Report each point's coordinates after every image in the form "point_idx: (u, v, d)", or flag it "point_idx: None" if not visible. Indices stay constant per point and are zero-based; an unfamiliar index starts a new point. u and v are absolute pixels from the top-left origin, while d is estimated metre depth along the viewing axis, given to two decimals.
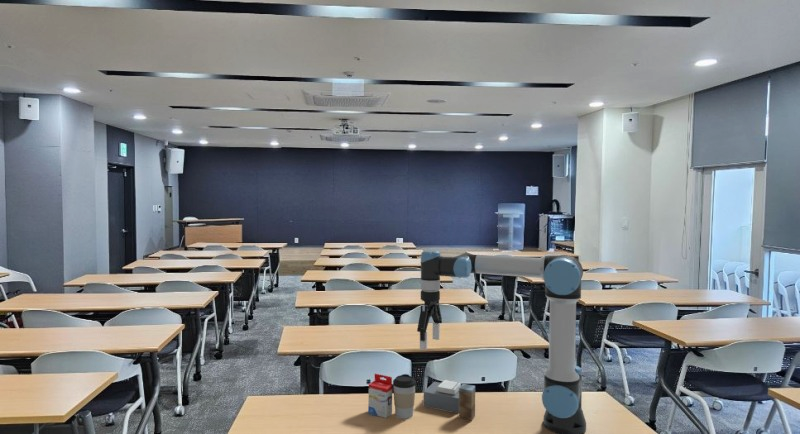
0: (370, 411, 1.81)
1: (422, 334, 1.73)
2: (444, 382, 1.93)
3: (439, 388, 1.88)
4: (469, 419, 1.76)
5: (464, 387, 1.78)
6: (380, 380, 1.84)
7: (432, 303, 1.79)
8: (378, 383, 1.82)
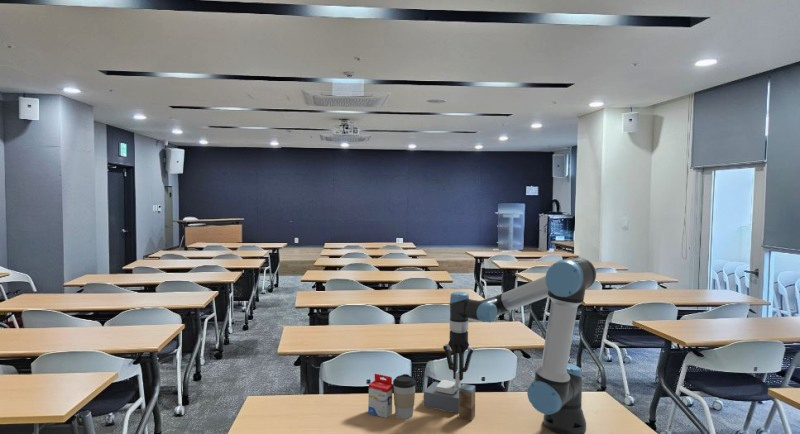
0: (370, 411, 1.81)
1: None
2: (442, 382, 1.93)
3: (438, 388, 1.88)
4: (469, 419, 1.76)
5: (464, 387, 1.78)
6: (380, 380, 1.84)
7: (457, 343, 1.87)
8: (378, 383, 1.82)
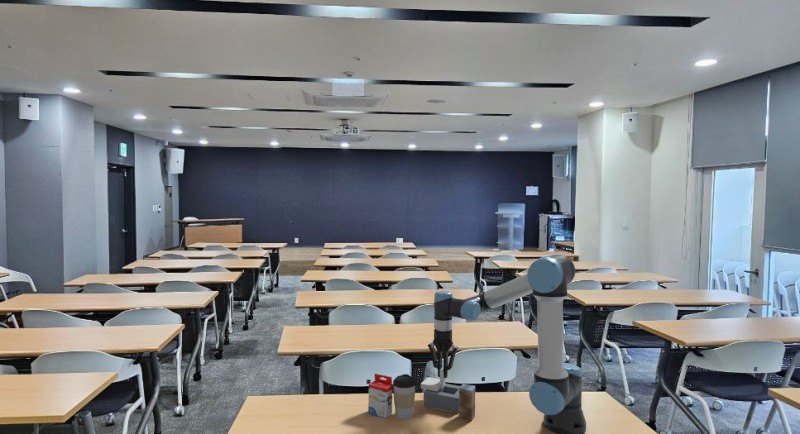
0: (370, 411, 1.81)
1: None
2: (428, 379, 1.96)
3: (422, 385, 1.91)
4: (469, 419, 1.76)
5: (464, 387, 1.78)
6: (380, 380, 1.84)
7: (441, 341, 1.90)
8: (378, 383, 1.82)
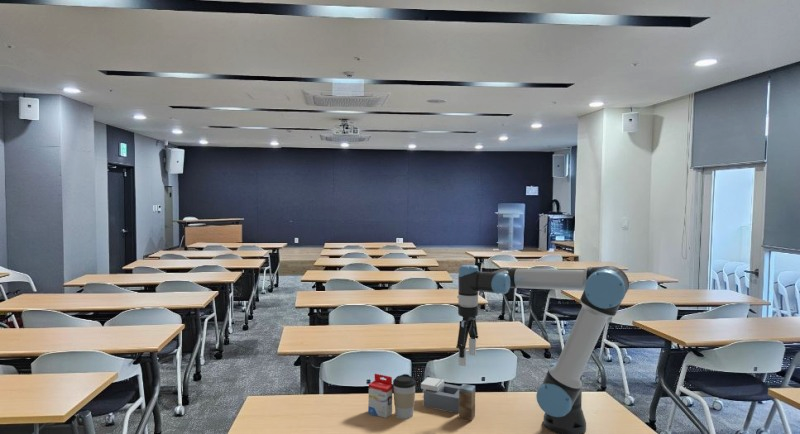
0: (370, 411, 1.81)
1: (461, 350, 1.71)
2: (427, 379, 1.96)
3: (422, 385, 1.91)
4: (469, 419, 1.76)
5: (464, 387, 1.78)
6: (380, 380, 1.84)
7: (470, 318, 1.77)
8: (378, 383, 1.82)
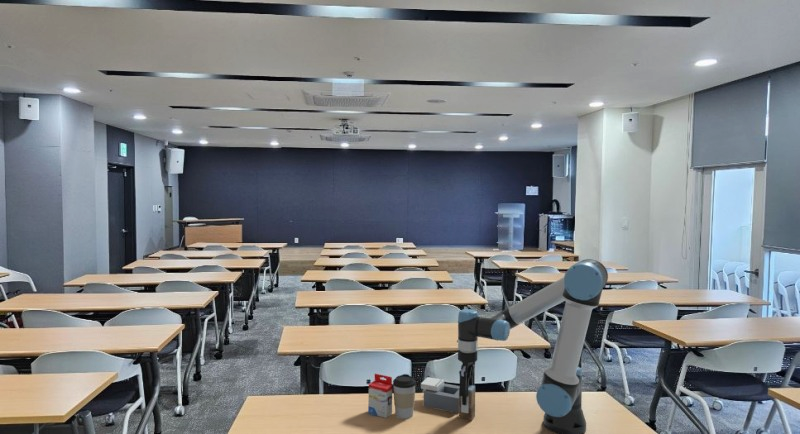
0: (370, 411, 1.81)
1: (464, 398, 1.75)
2: (427, 379, 1.96)
3: (422, 385, 1.91)
4: (469, 419, 1.76)
5: None
6: (380, 380, 1.84)
7: (470, 363, 1.78)
8: (378, 383, 1.82)
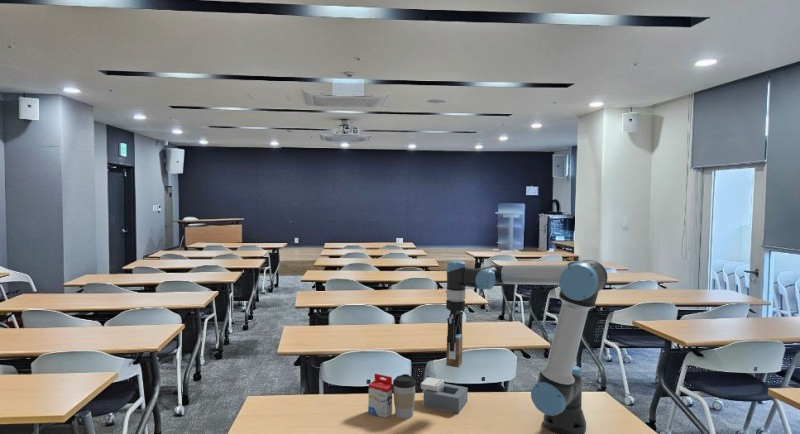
0: (370, 411, 1.81)
1: (451, 345, 1.82)
2: (427, 379, 1.96)
3: (422, 385, 1.91)
4: (456, 365, 1.83)
5: None
6: (380, 380, 1.84)
7: (457, 312, 1.85)
8: (378, 383, 1.82)
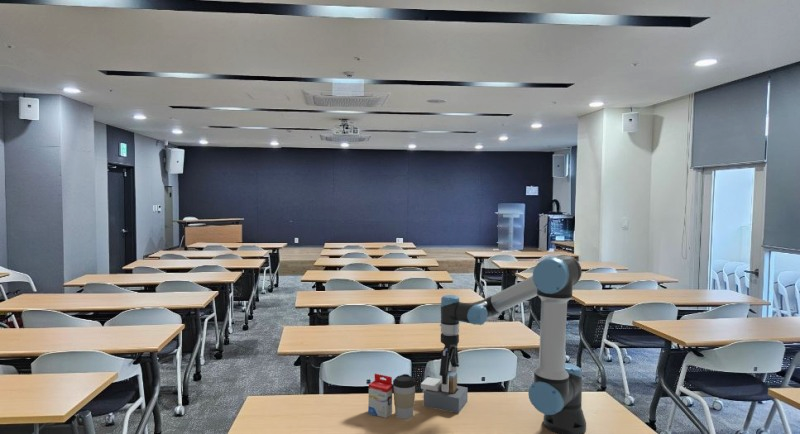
0: (370, 411, 1.81)
1: (444, 378, 1.84)
2: (427, 379, 1.96)
3: (422, 385, 1.91)
4: None
5: None
6: (380, 380, 1.84)
7: (451, 346, 1.89)
8: (378, 383, 1.82)
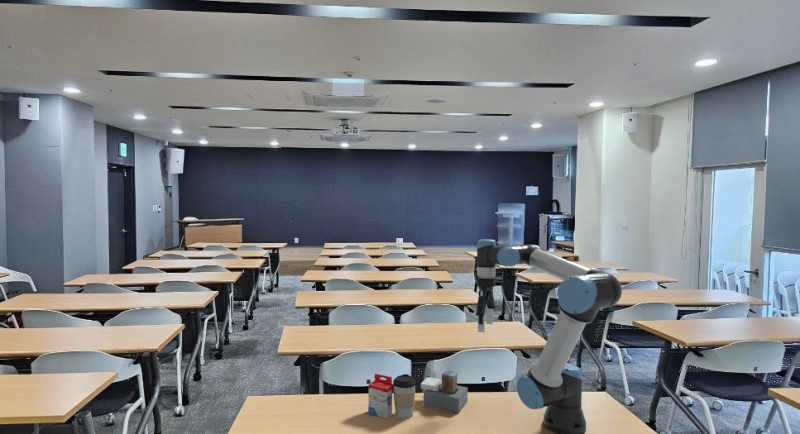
0: (370, 411, 1.81)
1: (480, 318, 1.83)
2: (427, 379, 1.96)
3: (422, 385, 1.91)
4: None
5: (446, 373, 1.90)
6: (380, 380, 1.84)
7: (488, 289, 1.90)
8: (378, 383, 1.82)
